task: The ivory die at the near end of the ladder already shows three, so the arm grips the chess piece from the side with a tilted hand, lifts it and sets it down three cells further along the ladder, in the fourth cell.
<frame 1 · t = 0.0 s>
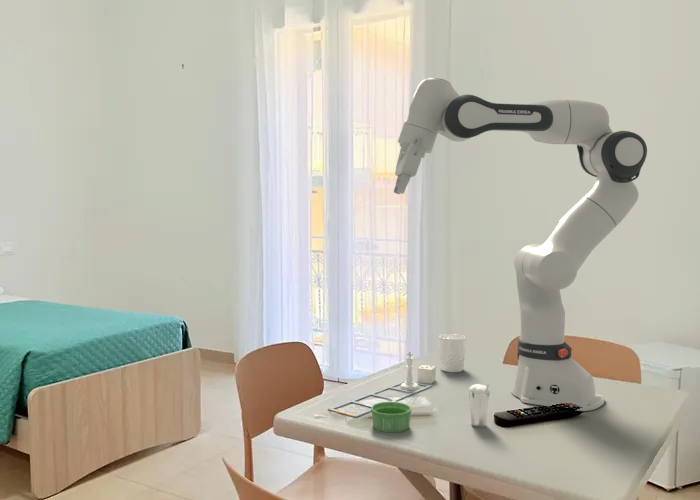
hand: (398, 193, 165), 52 cm above the table, tool tilted 20°, fingers open, 8 cm apart
ramekin: (391, 427, 145), on the table
milkshake: (479, 426, 146), on the table
white cup: (451, 370, 195), on the table
ladder: (383, 397, 166), on the table
die: (426, 381, 182), on the table
chess piece: (409, 388, 176), on the table
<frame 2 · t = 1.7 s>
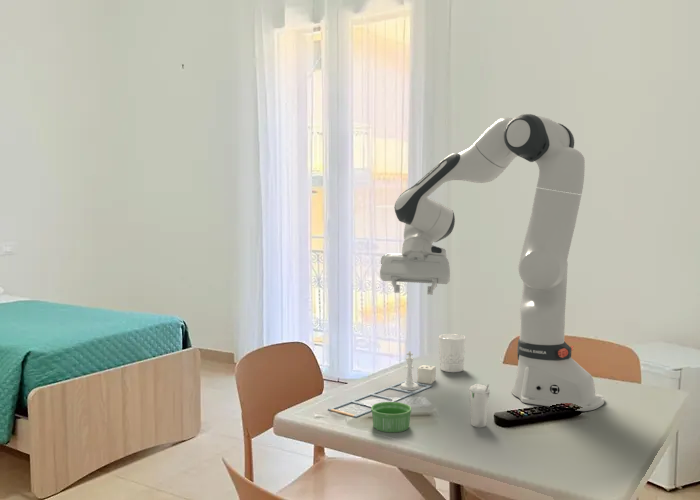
hand: (413, 292, 185), 24 cm above the table, tool tilted 45°, fingers open, 8 cm apart
nothing on the table moved.
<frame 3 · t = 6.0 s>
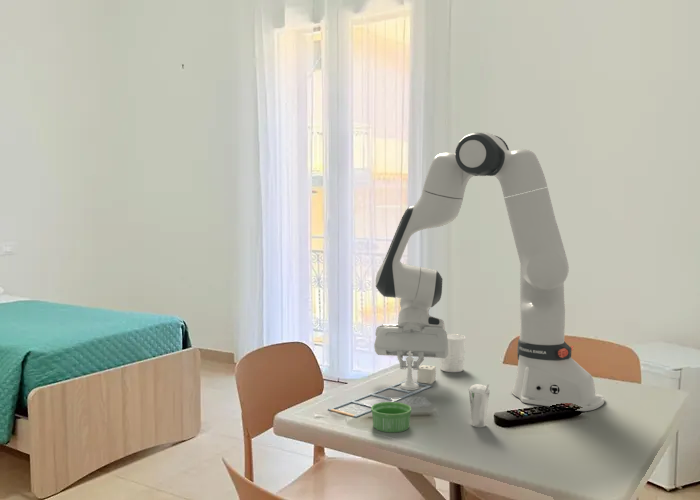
hand: (409, 368, 175), 5 cm above the table, tool tilted 45°, fingers closed on chess piece, 2 cm apart
chess piece: (409, 388, 176), on the table, touching gripper
everything else where it was.
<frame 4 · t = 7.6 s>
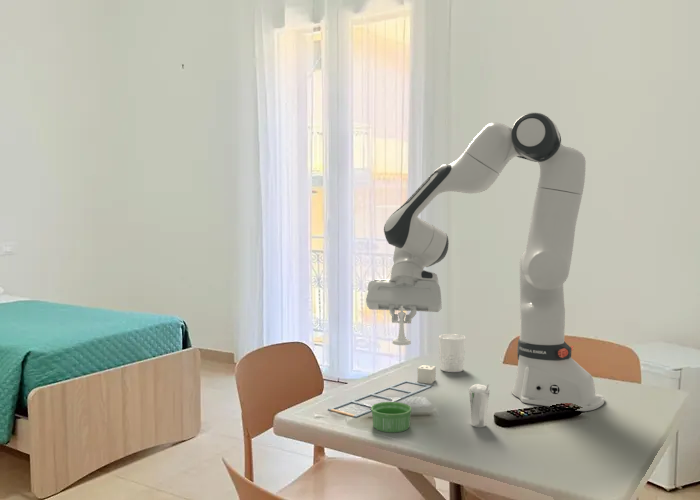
hand: (401, 321, 171), 18 cm above the table, tool tilted 45°, fingers closed on chess piece, 2 cm apart
chess piece: (401, 344, 172), point 12 cm above the table, touching gripper
everything else where it was.
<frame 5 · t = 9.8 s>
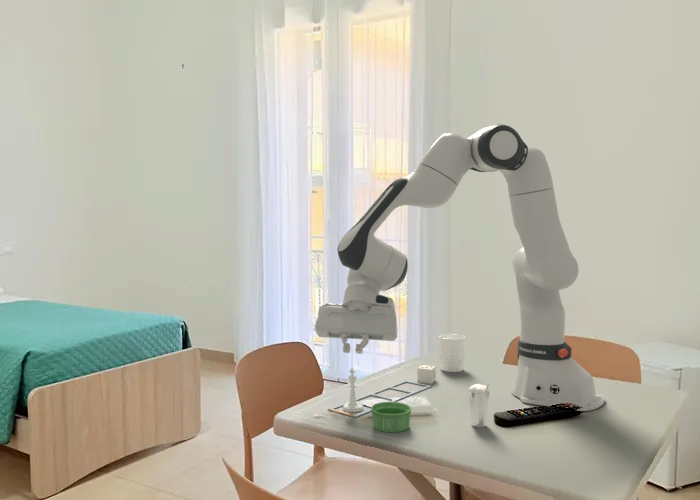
hand: (352, 352, 155), 14 cm above the table, tool tilted 45°, fingers closed
chess piece: (353, 409, 157), on the table
everything else where it was.
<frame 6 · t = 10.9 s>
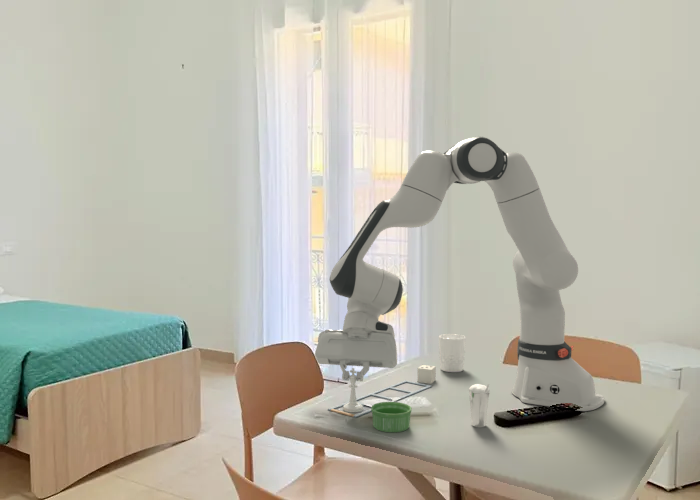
hand: (352, 379, 156), 7 cm above the table, tool tilted 45°, fingers closed, pressing on chess piece
chess piece: (353, 409, 157), on the table, touching gripper
everything else where it was.
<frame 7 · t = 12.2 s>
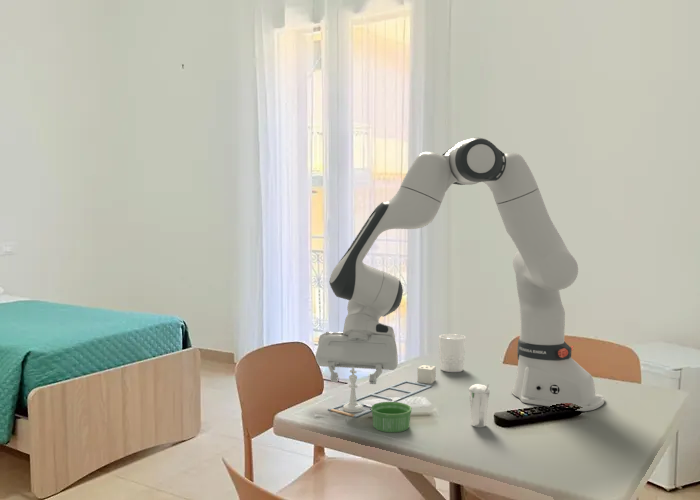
hand: (353, 381, 156), 7 cm above the table, tool tilted 45°, fingers open, 8 cm apart
chess piece: (353, 409, 157), on the table
everything else where it was.
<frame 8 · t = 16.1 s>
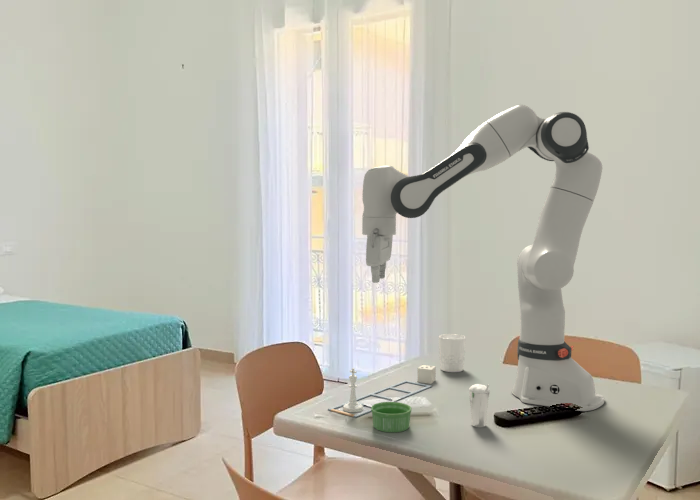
hand: (378, 280, 173), 29 cm above the table, tool pointing down, fingers open, 8 cm apart
nothing on the table moved.
at the end: chess piece inside the target area (0.2 cm from its centre), on the table; chess piece tilted 0°; the gripper is holding nothing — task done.
